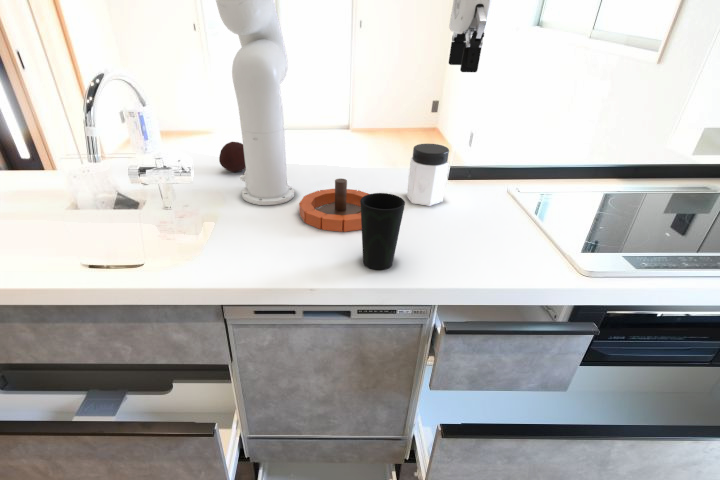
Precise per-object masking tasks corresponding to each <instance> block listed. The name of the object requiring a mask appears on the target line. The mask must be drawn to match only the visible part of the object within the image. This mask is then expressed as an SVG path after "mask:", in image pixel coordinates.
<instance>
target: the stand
mask: <svg viewBox="0 0 720 480" xmlns="http://www.w3.org/2000/svg"><path fill="white" fill-rule="evenodd" d="M334 189H335V202H332V203H330V204H325V205H322V206H320V207H317V208H315V210H318V211H321V212H323V213H326V214H333V215H350V214H358V213H360V212H361V207H359V206H357V205H354V204H350V203H347V202H346V199H347V189H348V180H347V179H346V178H336V179H335V180H334Z"/></svg>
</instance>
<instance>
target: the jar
mask: <svg viewBox="0 0 720 480" xmlns="http://www.w3.org/2000/svg"><path fill="white" fill-rule="evenodd" d="M449 154H450V149H449V147H447V146H445V145H442V144H438V143H419V144H416V145H415V146H414V147H413V149H412V156H411V157H410V163H409V172H408V181H407V188H406V197H407V199H408V200H409V201H410V203H411V204H414V205H420V206H427V207H431V206H434V205H437V204H440V203H443V202H444V196H445V189H446V183H447V177H448V171H449V165H450V163H449V161H448V159H449Z"/></svg>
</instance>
